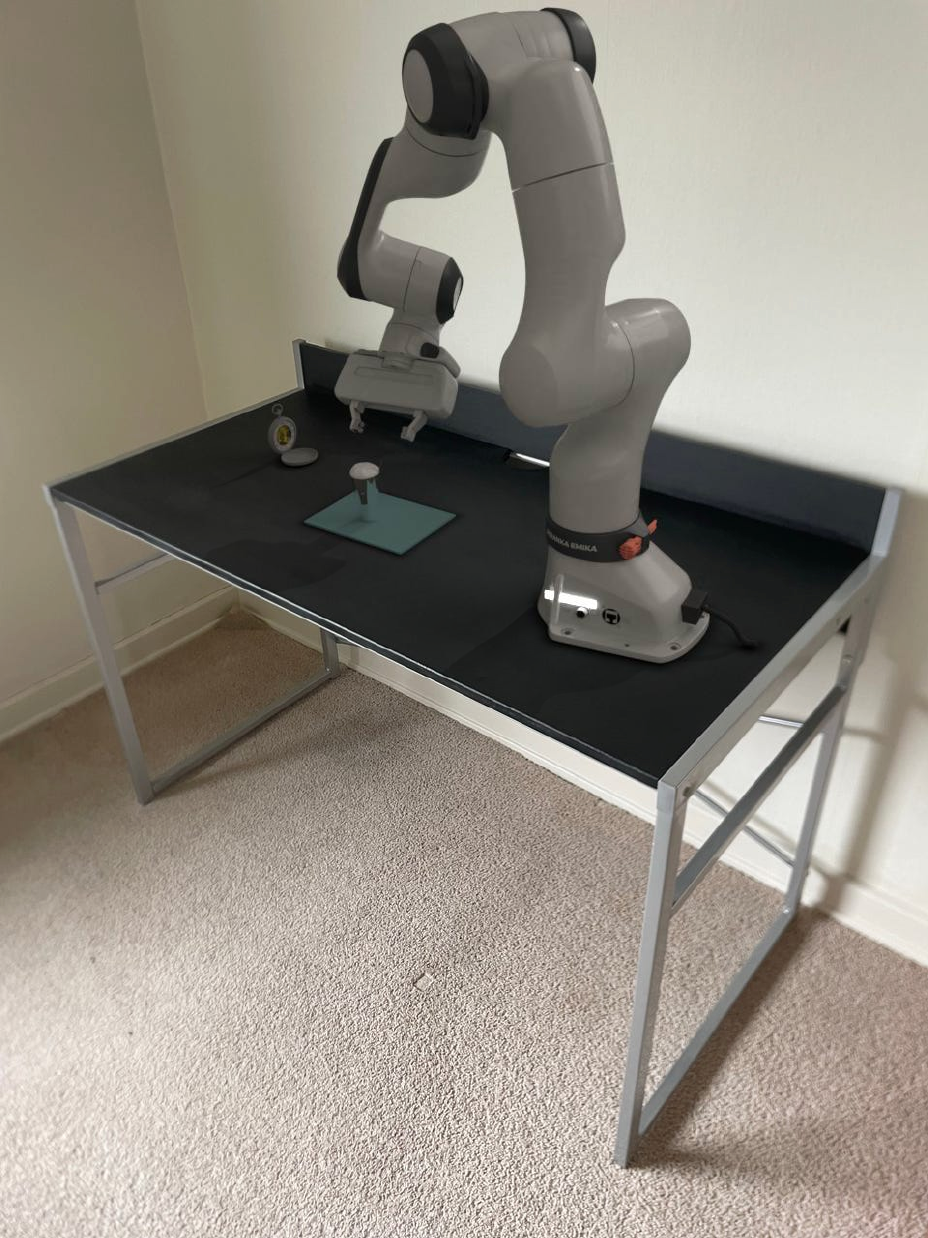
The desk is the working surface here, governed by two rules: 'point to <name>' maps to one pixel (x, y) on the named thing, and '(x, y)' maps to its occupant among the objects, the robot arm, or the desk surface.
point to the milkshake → (366, 490)
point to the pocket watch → (288, 442)
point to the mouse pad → (382, 522)
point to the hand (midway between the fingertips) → (380, 435)
